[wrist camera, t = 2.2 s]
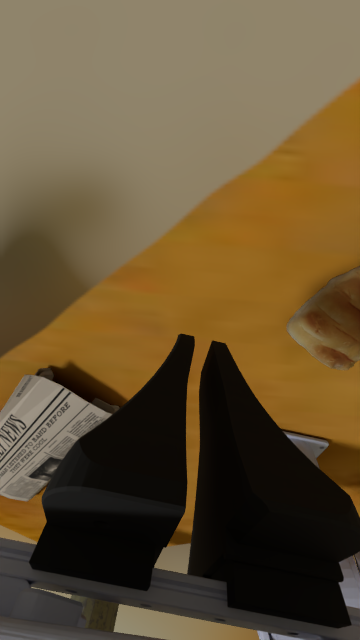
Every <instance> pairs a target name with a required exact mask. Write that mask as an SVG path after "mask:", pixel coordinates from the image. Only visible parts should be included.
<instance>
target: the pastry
mask: <svg viewBox="0 0 360 640" xmlns="http://www.w3.org/2000/svg"><path fill="white" fill-rule="evenodd" d="M287 331H288V332H289V334H290V335H291V336H292V338H293V339H294V340H296V342H297V343H298V344H300V345H302V346H303V347H304V348H305V349H306V350H307V351H308V352H309V353H310V354H311V355H312V356H313V357H315V358H316V359H318V360H319V361H320V362H322V363H323V364H325V365H326V366H328V367H330V368H333V369H338V370H348V369H349V368H350V367H352V366H353V365H354V364H355V362H357V361H358V360H360V266H358V267H356V268H354V269H352V270H351V271H349V272H347V273H345V274H342V275H339V276H337V277H335V278H333V279H331V280H330V281H329V282H328V284H327V285H326V286H325V287H324V288H322V289H321V290H320V291H319V292H318V293H317V294H315V295H314V296H313V297H312V298H311V299H309V300H308V301H307V302H306V303H305V304H304V305H302V306H301V308H300V309H299V310H298V311H296V313H295V314H294V316H293V317H292V318H291V319H290V321H289V322H288V324H287Z"/></svg>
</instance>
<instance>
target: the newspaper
mask: <svg viewBox="0 0 360 640" xmlns="http://www.w3.org/2000/svg"><path fill="white" fill-rule="evenodd" d="M50 370H51V368H41V369H39V370H38V371H37V372H36V374H35V375H24V377H23V378H22V380H21V382H20V383H19V385H18V386H17V388H16V389H15V391H14V392H13V394H12V395H11V397H10V399H9V400H8V402H7V403H6V405H5V406H4V408H3V409H2V411H1V412H0V495H2V496H5V497H7V498H11V499H17V500H23V501H28V500H30V499H32V498H33V497H34V496H35V495H36V494H37V493H38V492H39V491H40V490H41V489H42V488H43V487H44V486H45V485H47V484H48V483H49V482H50V480H51V478H52V476H53V474H54V472H55V470H56V469H57V467H58V465H59V464H60V462H61V461H62V459H63V458H64V457H65V455H66V454H67V452H68V451H69V450H70V449H71V447H72V446H73V445H74V443H75V442H76V441H77V440H78V439H79V438H80V437H82V436H83V435H85V434H86V433H87V432H89V431H90V430H92V429H93V428H95V427H96V426H98V425H99V424H101V423H102V422H103V421H105V420H106V419H107V418H109V417H110V416H111V415H112V414H114V413H115V412H116V411H117V410H118V409H120V408H119V406H114V405H109V404H107V403H105V402H104V401H102V400H100V399H98V398H95V399H94V400H93V401H92V403H89V402H87V401H85V400H84V399H82V398H81V397H79V396H77V395H76V394H74V393H73V392H71V391H70V390H68V389H66V388H65V387H63V386H62V385H60V384H58V383H55V382H53V381H52V379H53V377H54V374H53V372H52V370H51V371H50Z"/></svg>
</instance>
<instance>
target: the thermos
mask: <svg viewBox="0 0 360 640" xmlns="http://www.w3.org/2000/svg"><path fill="white" fill-rule="evenodd" d="M71 599H72V600H75V601H78V602H81V603H82V605H83V610H82V615H84V616H85V618H86V625H85V628H89V629H96V630H103V631H110V632H113V631H114V626H115V620H116V616H117V611H118V606H119V604H118V603H113V602H108V601H102V600H97V599H92V598H87V597H82V596H76V595H72V596H71Z"/></svg>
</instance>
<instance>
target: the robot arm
mask: <svg viewBox="0 0 360 640" xmlns="http://www.w3.org/2000/svg"><path fill="white" fill-rule="evenodd" d="M194 347H195V339H194V336H190V335H185V334H179V335H178V338H177V341H176V343H175V345H174V347H173V349H172V351H171V352H170V354H169V355H168V357H167V359H166V360H165V362H164V363H163V364H162V366H161V367H160V368H159V369H158V371H157V372H156V373H155V374H154V376H153V377H152V378H151V379H150V380H149V381H148V382H147V383H146V385H145V386H144V387H143V388H142V389H141V390H140V391H139V392H138V393H137V394H136V395H134V396H133V397H132V398H131V399H130V400H129V401H128V402H127V403H126V404H125V405H123V406H122V407H121V408H120V409H118V410H117V411H116V412H115V413H114V414H112V415H111V416H110V417H109V418H107V419H106V420H105V421H103V422H102V423H101V424H99V425H98V426H96V427H95V428H93V429H92V430H90V431H89V432H87V433H86V434H85V435H83V436H82V437H80V438H79V439H78V440H77V441H76V442H75V443H74V445H73V446H72V447H71V449H70V450H69V451H68V452H67V454H66V455H65V457H64V458H63V459H62V461H61V462H60V464H59V465H58V467H57V469H56V470H55V472H54V474H53V476H52V478H51V480H50V482H49V484H48V486H47V488H46V490H45V492H44V494H43V496H42V505H43V509H44V513H45V516H46V520H47V523H46V525H45V527H44V529H43V531H42V534H41V536H40V538H39V540H38V543H37V545H35V544H30V543H25V542H20V541H15V540H10V539H5V538H0V640H165V639H158V638H151V637H145V636H138V635H131V634H124V633H117V632H110V631H103V630H96V629H89V628H85V625H86V618H85V616H84V615H82V610H83V605H82V603H81V602H78V601H75V600H72V599H69V598H65V597H63V596H60V595H56V594H54V593H50V592H47V591H44V590H40V589H34V588H31V587H35V588H41V589H46V590H51V591H56V592H62V593H66V594H71V595H76V596H82V597H87V598H92V599H97V600H102V601H108V602H113V603H118V604H123V605H129V606H134V607H139V608H144V609H150V610H154V611H159V612H165V613H170V614H175V615H180V616H185V617H191V618H196V619H201V620H206V621H211V622H216V623H222V624H227V625H232V626H237V627H243V628H248V629H253V630H257V632H258V635H259V638H260V640H360V574H359V573H360V517H359V515H358V513H357V510H356V508H355V506H354V504H353V501H352V499H351V497H350V496H349V495H348V494H347V493H346V492H345V491H344V490H343V489H341V488H340V487H339V486H338V485H337V484H336V483H335V482H334V481H332V480H331V479H330V478H329V477H328V476H327V475H326V474H325V473H323V472H322V471H321V470H320V468H319V465H318V462H317V460H316V458H317V457H318V456H319V455H320V454H321V453H322V452H323V451H324V450H325V449H326V448H327V447H328V446H329V444H328V441H326V440H322V439H318V438H313V437H308V436H304V435H299V434H294V433H290V432H285V431H282V430H281V429H280V428H279V427H278V425H277V424H276V423H275V422H274V421H273V419H272V418H271V417H270V416H269V414H268V413H267V412H266V410H265V409H264V408H263V406H262V405H261V404H260V402H259V401H258V400H257V398H256V397H255V395H254V394H253V392H252V391H251V389H250V387H249V386H248V384H247V383H246V381H245V379H244V377H243V376H242V374H241V372H240V371H239V369H238V367H237V365H236V363H235V361H234V359H233V357H232V355H231V353H230V351H229V349H228V347H227V345H226V344H225V343H221V342H217V341H212V343H211V345H210V348H209V351H208V354H207V357H206V360H205V363H204V366H203V368H202V371H201V379H200V389H199V414H200V453H199V466H198V478H197V490H196V501H195V511H194V520H193V530H192V539H191V548H190V557H189V565H188V573H187V574H182V573H177V572H172V571H167V570H162V569H157V568H154V565H155V563H156V561H157V559H158V557H159V555H160V553H161V551H162V549H163V547H165V548H166V547H167V545H168V543H169V541H170V539H171V537H172V535H173V533H174V531H175V530H176V528H177V526H178V524H179V522H180V520H181V518H182V516H183V514H184V513H185V508H186V496H187V465H186V400H187V383H188V376H189V371H190V366H191V361H192V357H193V352H194ZM353 555H354V557H355V559H356V564H357V566H356V564H355V561H354V558H353ZM357 567H358V569H357ZM358 570H359V572H358Z"/></svg>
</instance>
